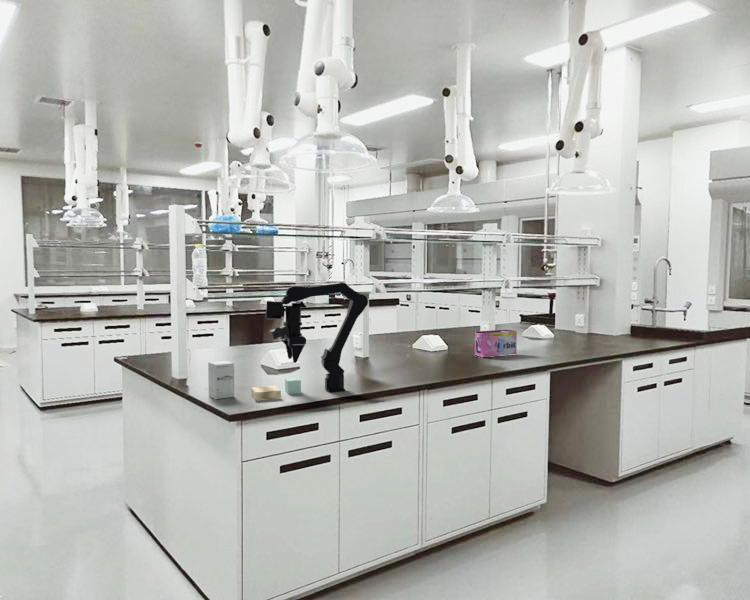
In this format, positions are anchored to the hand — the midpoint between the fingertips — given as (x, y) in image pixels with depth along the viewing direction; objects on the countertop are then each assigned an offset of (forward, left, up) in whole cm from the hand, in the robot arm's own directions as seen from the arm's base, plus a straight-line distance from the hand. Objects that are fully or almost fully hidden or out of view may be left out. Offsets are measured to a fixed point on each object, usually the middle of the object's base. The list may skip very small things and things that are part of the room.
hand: (292, 360), depth 209 cm
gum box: (-121, -50, -12) cm, 132 cm away
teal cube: (0, 0, -12) cm, 12 cm away
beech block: (+11, +5, -13) cm, 17 cm away
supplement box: (+26, -2, -12) cm, 29 cm away
